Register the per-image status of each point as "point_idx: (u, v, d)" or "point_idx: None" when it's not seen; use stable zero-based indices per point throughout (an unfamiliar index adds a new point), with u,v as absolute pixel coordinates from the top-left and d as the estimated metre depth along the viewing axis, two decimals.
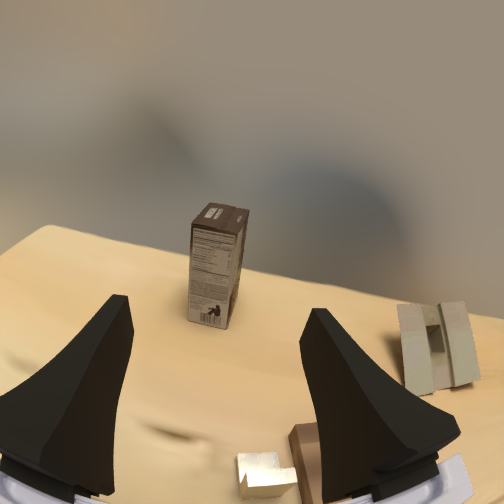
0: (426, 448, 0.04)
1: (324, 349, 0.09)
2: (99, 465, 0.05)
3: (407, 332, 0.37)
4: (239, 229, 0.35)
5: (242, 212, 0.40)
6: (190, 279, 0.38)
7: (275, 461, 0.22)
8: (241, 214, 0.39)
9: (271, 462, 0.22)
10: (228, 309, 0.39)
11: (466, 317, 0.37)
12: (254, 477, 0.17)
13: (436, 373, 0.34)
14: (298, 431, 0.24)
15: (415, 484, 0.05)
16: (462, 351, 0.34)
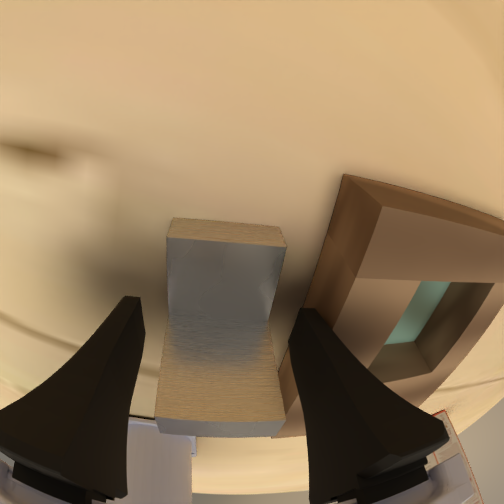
0: (410, 455, 0.04)
1: (311, 350, 0.09)
2: (114, 469, 0.05)
3: None
4: None
5: None
6: None
7: (271, 274, 0.10)
8: None
9: (259, 275, 0.10)
10: None
11: None
12: (175, 426, 0.07)
13: None
14: (377, 236, 0.08)
15: (402, 490, 0.05)
16: None
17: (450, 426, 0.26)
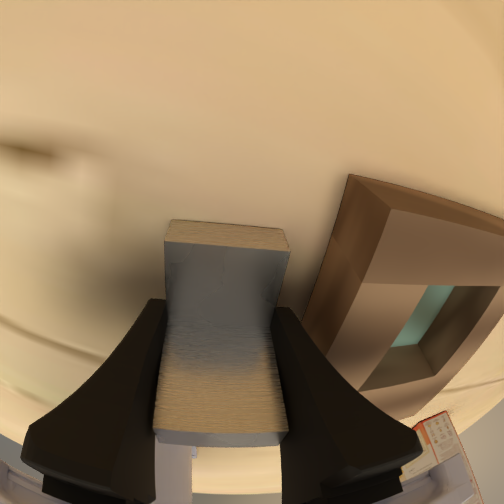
0: (373, 468, 0.04)
1: (283, 351, 0.09)
2: (147, 475, 0.06)
3: None
4: None
5: None
6: None
7: (274, 279, 0.10)
8: None
9: (261, 280, 0.10)
10: None
11: None
12: (174, 437, 0.07)
13: None
14: (385, 239, 0.07)
15: (372, 501, 0.04)
16: None
17: (451, 427, 0.26)
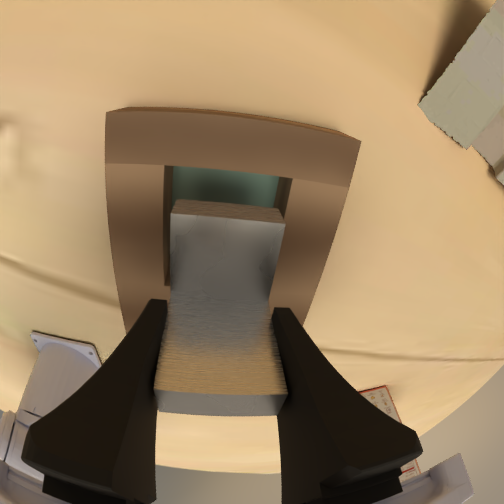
0: (372, 468, 0.04)
1: (282, 351, 0.09)
2: (147, 475, 0.06)
3: None
4: None
5: None
6: None
7: (271, 251, 0.10)
8: None
9: (259, 252, 0.10)
10: None
11: None
12: (174, 401, 0.08)
13: (494, 127, 0.13)
14: (108, 132, 0.11)
15: (371, 502, 0.04)
16: None
17: (390, 404, 0.29)
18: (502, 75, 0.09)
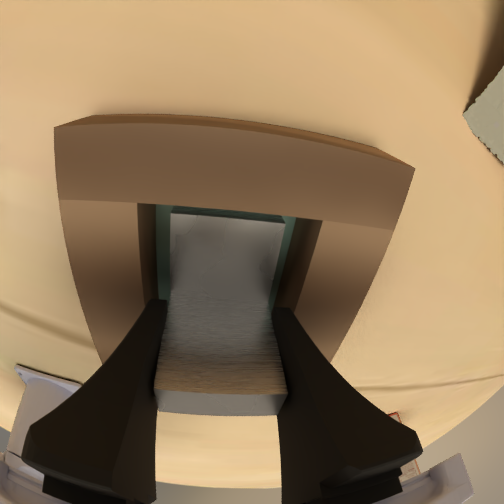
0: (372, 468, 0.04)
1: (282, 351, 0.09)
2: (147, 475, 0.06)
3: None
4: None
5: None
6: None
7: (271, 251, 0.10)
8: None
9: (259, 252, 0.10)
10: None
11: None
12: (174, 401, 0.08)
13: None
14: (59, 155, 0.07)
15: (371, 502, 0.04)
16: None
17: None
18: None
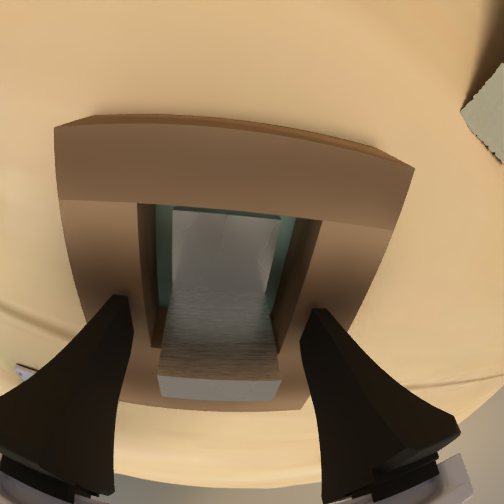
0: (426, 448, 0.04)
1: (324, 350, 0.09)
2: (99, 465, 0.05)
3: None
4: None
5: None
6: None
7: (267, 245, 0.11)
8: None
9: (256, 246, 0.11)
10: None
11: None
12: (176, 387, 0.08)
13: None
14: (58, 156, 0.07)
15: (415, 484, 0.05)
16: None
17: None
18: None
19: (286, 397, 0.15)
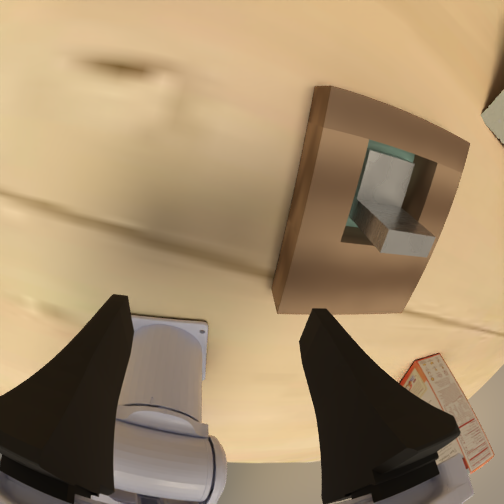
0: (426, 448, 0.04)
1: (324, 350, 0.09)
2: (99, 465, 0.05)
3: None
4: None
5: None
6: None
7: (407, 177, 0.17)
8: None
9: (402, 177, 0.17)
10: None
11: None
12: (392, 240, 0.15)
13: None
14: (331, 102, 0.13)
15: (415, 484, 0.05)
16: None
17: (446, 368, 0.31)
18: None
19: (398, 296, 0.22)
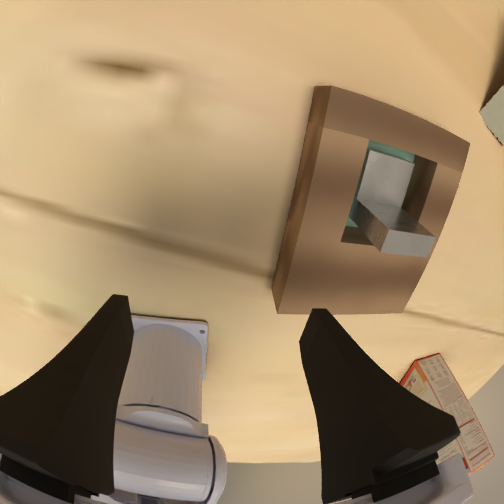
0: (426, 448, 0.04)
1: (324, 350, 0.09)
2: (99, 465, 0.05)
3: None
4: None
5: None
6: None
7: (407, 177, 0.17)
8: None
9: (402, 177, 0.17)
10: None
11: None
12: (392, 240, 0.15)
13: None
14: (331, 102, 0.13)
15: (415, 484, 0.05)
16: None
17: (446, 368, 0.31)
18: None
19: (398, 296, 0.22)
